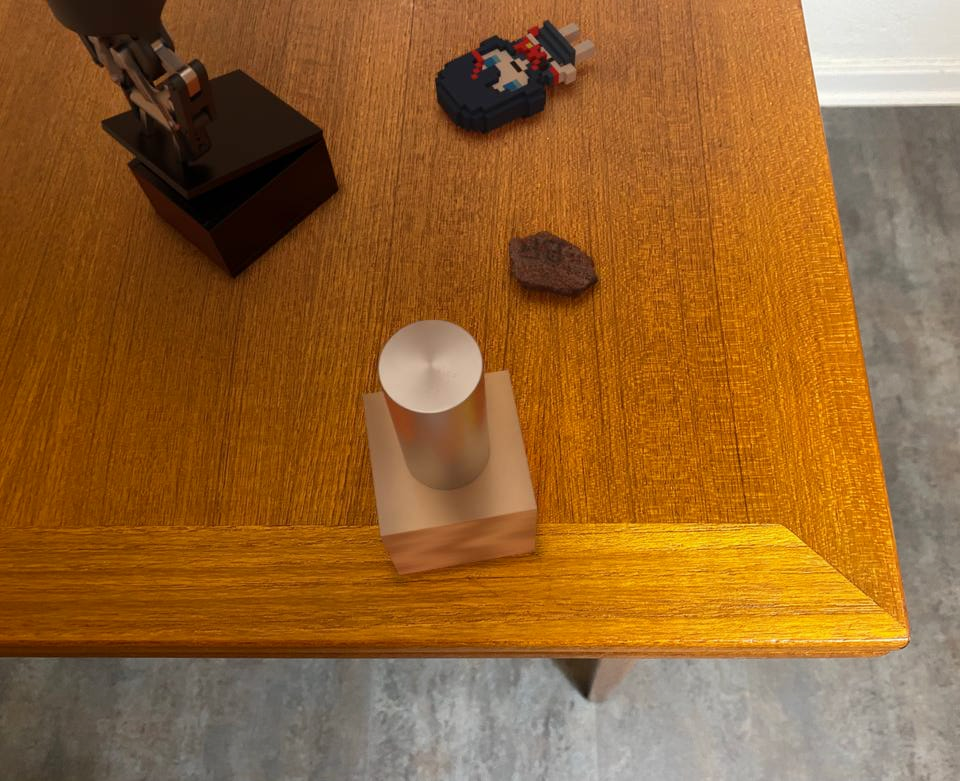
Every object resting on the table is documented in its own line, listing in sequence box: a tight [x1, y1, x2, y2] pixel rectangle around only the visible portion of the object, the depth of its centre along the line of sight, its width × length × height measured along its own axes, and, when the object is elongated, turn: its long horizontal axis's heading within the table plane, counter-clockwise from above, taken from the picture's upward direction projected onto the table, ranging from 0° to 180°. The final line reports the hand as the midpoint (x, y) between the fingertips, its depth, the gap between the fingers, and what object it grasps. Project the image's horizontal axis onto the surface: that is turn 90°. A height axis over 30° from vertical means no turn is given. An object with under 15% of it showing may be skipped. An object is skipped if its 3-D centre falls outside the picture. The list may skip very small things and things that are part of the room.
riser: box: [362, 369, 538, 576], centre depth 62 cm, size 10×10×10 cm
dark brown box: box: [126, 136, 340, 280], centre depth 76 cm, size 13×11×7 cm
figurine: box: [434, 19, 596, 135], centre depth 82 cm, size 9×4×15 cm
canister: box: [377, 318, 490, 490], centre depth 52 cm, size 6×6×12 cm
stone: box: [507, 230, 599, 299], centre depth 73 cm, size 7×7×3 cm
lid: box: [100, 68, 324, 200], centre depth 69 cm, size 13×11×5 cm
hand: (175, 134), depth 68 cm, fingers closed on lid, 5 cm apart
